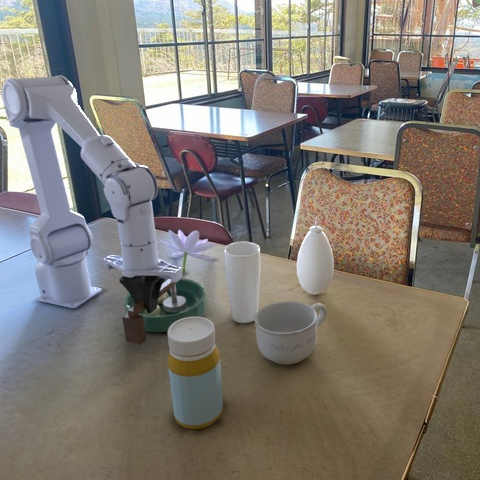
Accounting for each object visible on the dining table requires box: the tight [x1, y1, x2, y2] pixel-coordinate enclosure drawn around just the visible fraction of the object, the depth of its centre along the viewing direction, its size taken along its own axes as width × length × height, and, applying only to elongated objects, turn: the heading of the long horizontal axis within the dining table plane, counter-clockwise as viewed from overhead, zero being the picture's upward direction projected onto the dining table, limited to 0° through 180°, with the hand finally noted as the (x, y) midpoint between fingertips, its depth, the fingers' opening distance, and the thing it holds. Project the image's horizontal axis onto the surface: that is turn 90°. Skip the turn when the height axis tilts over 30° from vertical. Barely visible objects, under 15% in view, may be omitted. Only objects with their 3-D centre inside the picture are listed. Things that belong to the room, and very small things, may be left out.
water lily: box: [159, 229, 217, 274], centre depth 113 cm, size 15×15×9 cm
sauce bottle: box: [296, 215, 335, 296], centre depth 101 cm, size 8×8×18 cm
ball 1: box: [145, 305, 161, 316], centre depth 92 cm, size 3×3×3 cm
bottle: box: [167, 316, 224, 430], centre depth 68 cm, size 7×7×15 cm
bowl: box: [123, 277, 208, 333], centre depth 95 cm, size 15×15×4 cm
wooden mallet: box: [121, 279, 187, 346], centre depth 89 cm, size 15×4×6 cm, turn 163°
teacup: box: [253, 300, 328, 366], centre depth 84 cm, size 14×11×8 cm
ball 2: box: [158, 292, 169, 304], centre depth 97 cm, size 3×3×3 cm
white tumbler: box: [223, 241, 262, 324], centre depth 92 cm, size 7×7×15 cm
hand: (147, 309), depth 86 cm, fingers closed on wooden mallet
